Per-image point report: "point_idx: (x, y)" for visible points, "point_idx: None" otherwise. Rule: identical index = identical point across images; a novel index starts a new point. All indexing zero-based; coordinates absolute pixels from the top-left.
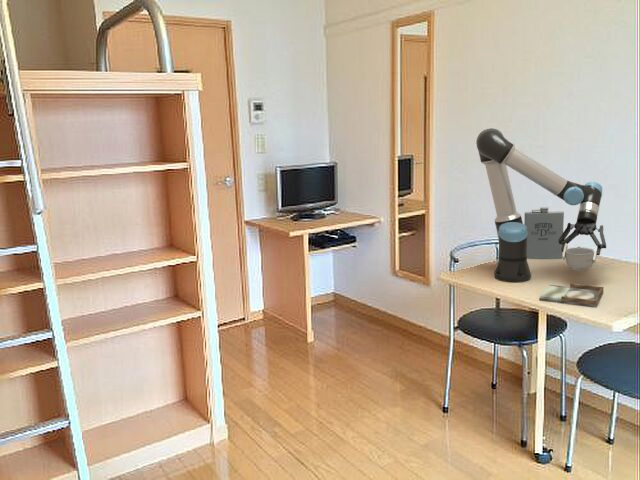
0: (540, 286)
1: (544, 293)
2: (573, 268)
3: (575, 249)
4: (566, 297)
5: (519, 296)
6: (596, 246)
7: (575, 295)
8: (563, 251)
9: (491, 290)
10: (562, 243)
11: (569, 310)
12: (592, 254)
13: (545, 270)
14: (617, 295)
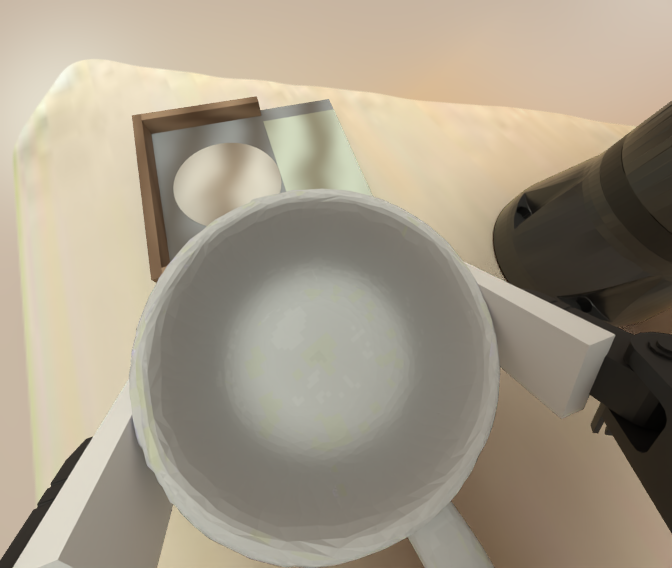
0: None
1: (339, 135)
2: (325, 277)
3: (446, 448)
4: (239, 99)
5: (394, 108)
6: (40, 554)
7: (240, 169)
8: (479, 270)
9: (489, 110)
10: (646, 339)
11: (214, 86)
12: (155, 336)
13: (570, 460)
14: (103, 296)
